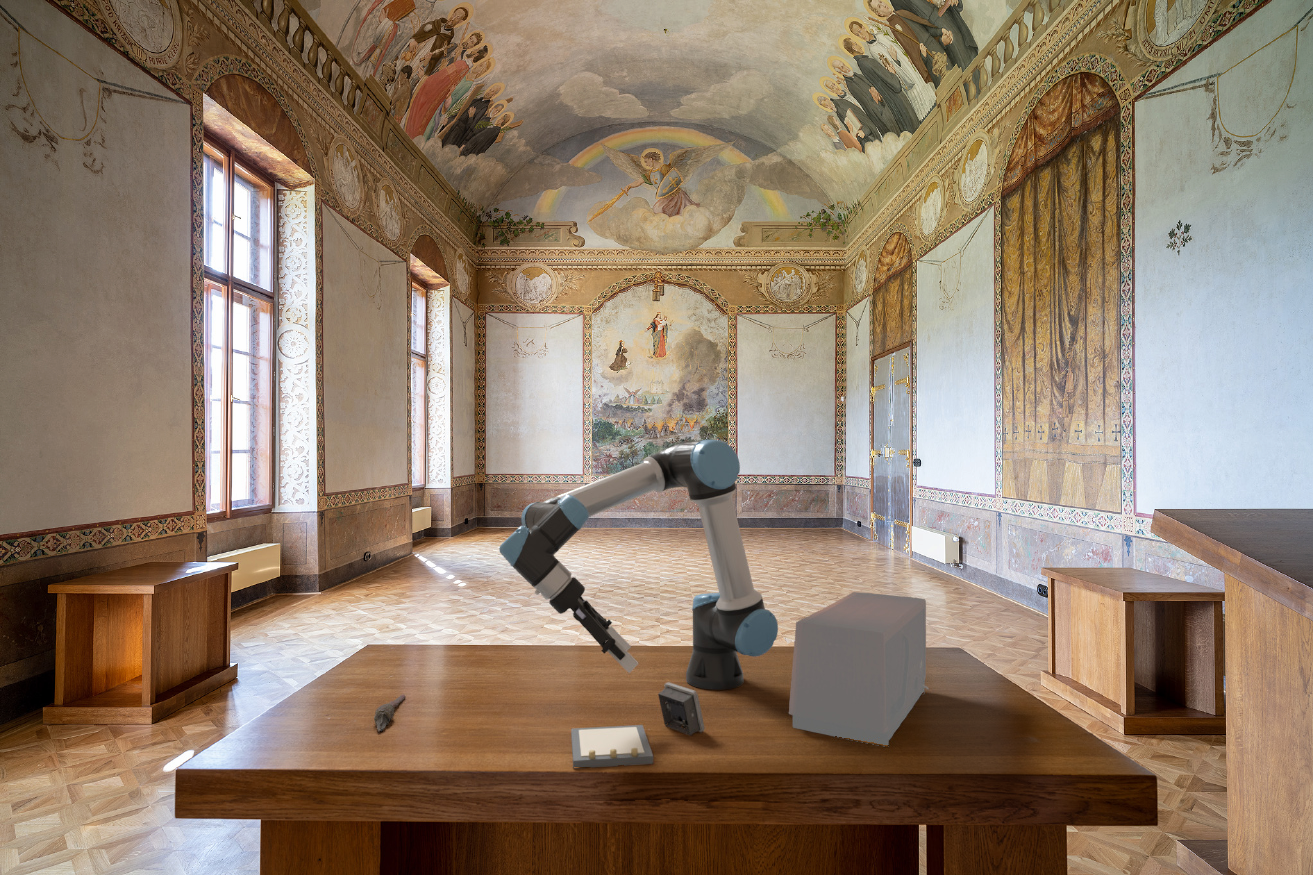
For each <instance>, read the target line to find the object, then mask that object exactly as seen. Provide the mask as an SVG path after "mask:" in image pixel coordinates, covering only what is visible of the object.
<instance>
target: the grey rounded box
mask: <svg viewBox="0 0 1313 875" xmlns="http://www.w3.org/2000/svg"><path fill="white" fill-rule="evenodd" d="M794 634H795V635H794V641H793V642H794V643H793V656H792V670H791V681H790V690H789V691H790V693H789V702H788V703H789V704H788V705H789V707H788V708H789V710H788V714H789V715H791V716H792V728H794V729H798V730H803V731H808V732H812V733H818V734H822V735H827V736H830V737H835V736H837V737H836V738H839V737H842V738H841V739H844V738H850V739H854V740H861V741H867V742H874V743H877V744H883V745H889V744H890V743H889V741H890V740H891V739H892V737H893V736H894V734H895V732H896V731H897V730H898V729H899V727H900V726H901V724H902V723H903V721H904V720H905V719H906V718H907V716H908V714H909V713H910V712H911V710H912V709H913V708H914V706H915V705H916V703H917V701H919V699H920V697H921V695H923V694H922V693H923V692H924V693H925V689H927V690H929V687H928V686H927V685H926V684H925V682H926V678H927V603H926V599H925V598H921V597H920V598H919V597H911V596H901V595H893V594H892V595H891V594H883V593H882V594H881V593H870V592H858V591H857V592H856V591H853V592H851V593H849V594H847V595H846V596H844V597H842V598H839V599H838V600H836V601H835V602H833V603H831V604H829V605H827V606H826V607H825V606H824V607H823V608H821V609H820V610H818V611H816V612H813V613H811V614H810V615H808V616H805V617H804V618H802V619H799V620H798V621H796V622H795V632H794Z"/></svg>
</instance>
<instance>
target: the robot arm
mask: <svg viewBox="0 0 1313 875" xmlns="http://www.w3.org/2000/svg"><path fill="white" fill-rule="evenodd" d="M740 469H741V464H740V459H739V456H738V454H737V452H736V451H735V450H734V449H733V447H732V446H731V445H730V444H728V443H727V442H725V441H722V440H720V439H719V440H718V439H701V440H700V439H699V440H692V441H683V442H678V443H676V444H674V445H672V446H669V447H667V448H665V449H662V450H661V451H658V452H656V453H654V454H652V455H651V454H650V455H649V456H646V457H645V458H644V459H643V461H642V463H639V464H636V465H634V466H632V467H629V468H626V469H623V470H621V471H619V472H616V473H613V474H610V475H608V476H606V477H602V478H600V479H598V480H596V481H592V482H591V483H587V484H585V485H582V486H581V487H580V486H579V487H577V488H575V489H572V490H570V491H567V492H564V493H562V494H559V495H557V496H553V497H552V498H549V499H546V500H544V501H542V502H541V501H536V502H532V503H529V504H528V505H527V506H526V507H525V508H524V509H523V510H522V512H521V525H520V526H518V527H517V529H515V530H514V532H512V533H511V534H510V536H508V537H507V538H506V539H505V540H504V541H503V542H502V543H501V544H500V546H499V549H498V550H499V553H500V554H501V555H502V557H503V558H504V559H505V560H506V561H507V562H508V564H509V565H510V566H511V567H512V568H513V569H514V570H515V571H516V572H517V573H518V574H519V575H520V576H522V578H523V579H524V580H525V581H526V582H528V584H529V585H531V587H533V589H535V591H534V594H535V595H537V596H538V595H541V596H542V598H544V600H549V605H550V606H551V607H552V608H553V609H554V610H555V611H556V612H557V613H558V614H560V615H562V614H565V613H566V612H567V611H569V609H570V610H571V611H572V612H573V613H572V616H573V618H574V620H576V621H577V622H579V624H580V625H581V626H582V627H583V628H584V629H585V630H586V631H587V633H589V635H591V637H592V638H593V639H594V640H595V641H596V643H597V644H599V645H600V647H601V649H602V650H601V652H602V653H603V654H606V653H609V655H610V656H612V658H613V659H614V660H615V661H616V662H617V663H618V664H619V665H620V666H621V667H622V668H623V669H624V670H625V671H626V672H627V673H628V674H631V672H632V671H633V670H634V669H635V668H636V667H637V666H638V665H639V662H638V661H637V660H636V659H635V658H634V656H632V654H631V653H630V652H629V650H630V649H631V648H632V646H631V644H630V643H629V642H627V640H626V639H625V638H624V637H623V636H622V635H621V634H620V633H619V632H618V631H617V630H616V629H615V628H614V627H613V626H612V624H613V622H612V621H611V619H607V618H605V617H604V616H602V614H600V613H599V612H598V611H597V609H595V608H594V607H593V606H592V605H591V603H590V602H589V601H588V600H587V599H586V600H585V599H584V598H583V595H584V592H585V590H586V587H585V586H584V585H583V584H582V583H581V582H580V580H579V579H577V578H576V577H573V576H572V572H570V570H569V569H568V568H567V567H566V566H565V565H564V564H563V563H562V562H561V561H560V560H558V559H557V558H556V556H555V554H556V553H558V552H559V551H560V549H562V547H563V546H564V545H565V544H566V543H567V542H569V540H570V539H571V538H572V537H574V535H575V534H576V533H578V532H579V531H580V530H581V529H582V528H583V527H584V525H585V524H586V523H587V522H588V520H589V518H591V517H593V516H595V515H598V514H600V513H602V512H604V511H607V510H611V509H612V508H614V507H617V506H619V505H622V504H624V503H627V502H629V501H632V500H634V499H637V498H640V497H641V496H644V495H646V494H648V493H652V492H653V491H654V492H656V493H662V492H664V491H666V490H670V489H677V488H687V491H688V496H689V500H690V502H692V503H695V504H696V505H697V507H698V512H699V515H700V518H701V524H702V528H703V531H704V534H705V540H706V544H707V548H708V552H709V556H710V560H711V564H712V569H713V573H714V577H715V580H716V585H717V589H718V590H717V591H718V592H709V593H701V594H697V595H695V596H694V597H693V598H692V599H693V600H692V609H691V610H692V653H691V655H690V656H691V657H690V658H689V662H688V666H687V669H686V671H685V672H686V673H685V674H686V675H685V676H686V677H685V682H687V684H689V685H690V686H692V687H695V688H699V689H704V690H714V691H715V690H718V691H720V690H731V689H735V688H738V687H740V686H742V685H743V684H744V672H743V669H742V665H741V662H740V659H739V655H738V653H739V654H740V655H743V656H749V657H760V656H763V655H764V654H766V653H767V652H769V650H771V649H772V647H773V646H774V642H775V641H776V640H777V637H778V632H779V624H778V620H777V617H776V616H775V614H774V613H773V612H771V610H769V609H766V606H765V603H764V599H763V596H762V593H761V592H759V591H758V590H756V589H755V588H754V585H753V584H754V583H753V581H752V576H751V571H750V567H749V563H748V558H747V554H746V550H745V546H744V542H743V538H742V533H741V529H740V525H739V521H738V516H737V513H736V509H735V505H734V504H735V503H734V500H733V496H734V494H735V493H736V491H737V486H736V481H737V480H738V478H739V477H738V475H739V474H740V471H741V470H740Z"/></svg>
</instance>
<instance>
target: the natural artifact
mask: <svg viewBox="0 0 1313 875" xmlns="http://www.w3.org/2000/svg"><path fill="white" fill-rule="evenodd" d="M405 699H406V695H405V694H400V695H399V697H397V698H396V699H395V700H391V701H389V702H388V703H384V704H382V705H379V707H378V708H376V710H375V713H374V717H373V720H374V725H375V726H376V729H377V731H378V732H379V733H380V732H383V730H385V728H386V726H389V725H390V722H391V720H392V719H393V718H394V715H395V710H396V709H395V708H396V707H398V706H399V704H400V703H402V701H403V700H405Z"/></svg>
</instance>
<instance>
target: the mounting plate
mask: <svg viewBox="0 0 1313 875" xmlns="http://www.w3.org/2000/svg"><path fill="white" fill-rule="evenodd" d="M570 729H571V732H570V733H571V734H570V737H571V752H572V753H571V754H572V756H571V757H572V768H574V767H591V768H603V767H604V768H605V767H619V766H618V765H624V766H638V765H653V764H654V755H653V751H652V749H651V745H650V743H649V740H648V737H647V734H646V731H645V728H644V726H643V724H637V725H636V724H634V725H615V726H614V725H613V726H612V725H611V726H598V727H597V726H596V727H594V726H593V727H577V728H576V727H575V728H570ZM574 769H575V768H574Z"/></svg>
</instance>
